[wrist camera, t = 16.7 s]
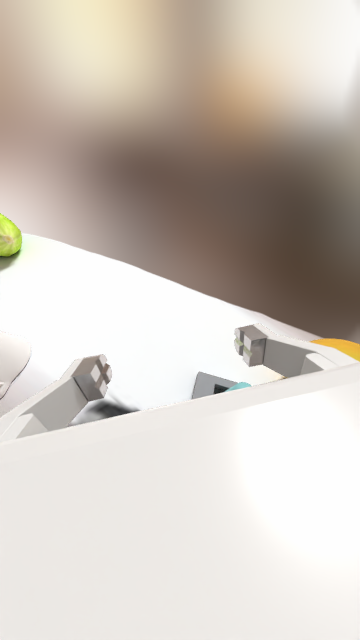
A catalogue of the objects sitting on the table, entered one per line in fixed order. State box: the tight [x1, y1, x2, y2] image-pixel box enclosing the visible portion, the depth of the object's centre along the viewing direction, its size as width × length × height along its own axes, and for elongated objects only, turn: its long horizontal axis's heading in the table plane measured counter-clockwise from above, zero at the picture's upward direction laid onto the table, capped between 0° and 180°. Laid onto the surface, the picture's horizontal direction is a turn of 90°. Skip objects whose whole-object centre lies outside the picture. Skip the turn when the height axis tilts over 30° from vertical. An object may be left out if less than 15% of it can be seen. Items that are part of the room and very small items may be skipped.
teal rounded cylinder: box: [225, 382, 251, 392], centre depth 26 cm, size 4×4×12 cm
